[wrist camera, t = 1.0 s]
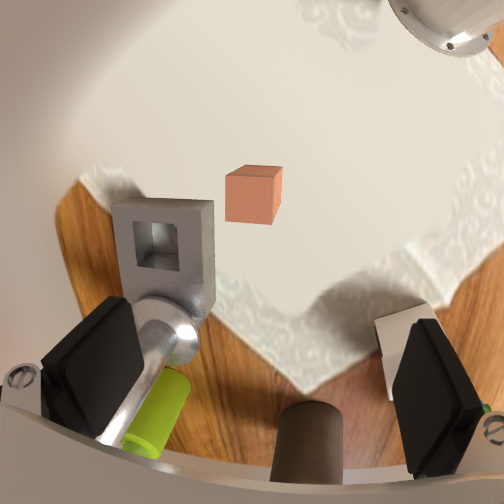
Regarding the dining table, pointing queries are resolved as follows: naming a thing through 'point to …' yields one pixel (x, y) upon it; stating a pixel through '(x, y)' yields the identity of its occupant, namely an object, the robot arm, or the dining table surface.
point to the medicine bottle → (397, 338)
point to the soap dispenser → (157, 415)
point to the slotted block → (163, 289)
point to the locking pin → (253, 194)
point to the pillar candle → (309, 445)
